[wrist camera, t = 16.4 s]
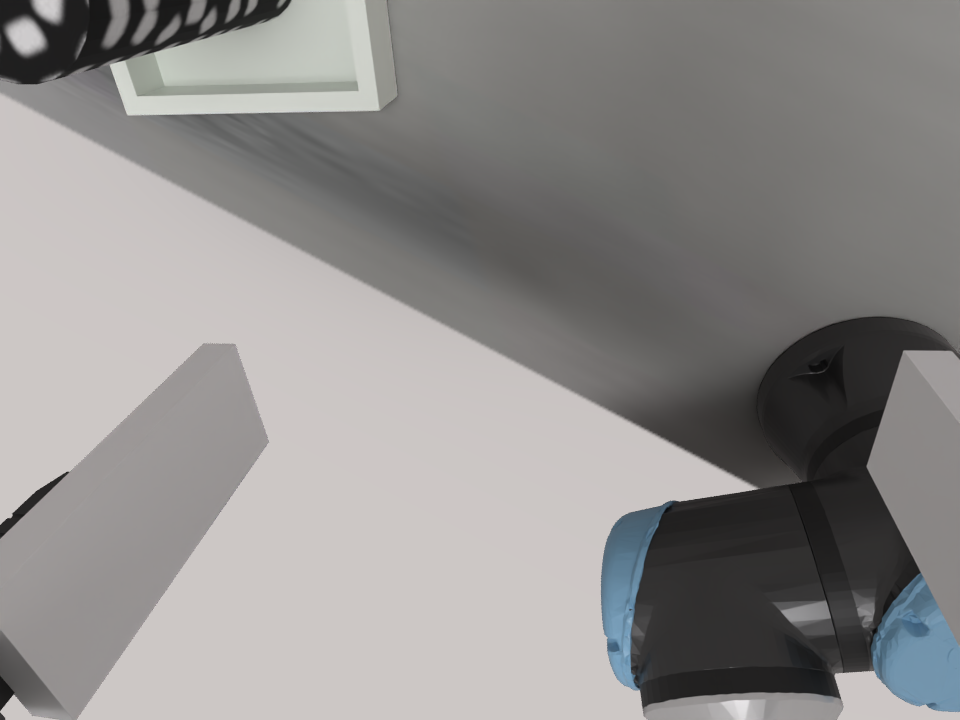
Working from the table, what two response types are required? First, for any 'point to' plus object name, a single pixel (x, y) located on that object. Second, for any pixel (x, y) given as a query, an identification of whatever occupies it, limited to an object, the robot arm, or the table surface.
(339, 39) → the tray
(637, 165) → the table surface
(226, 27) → the spotted tube
